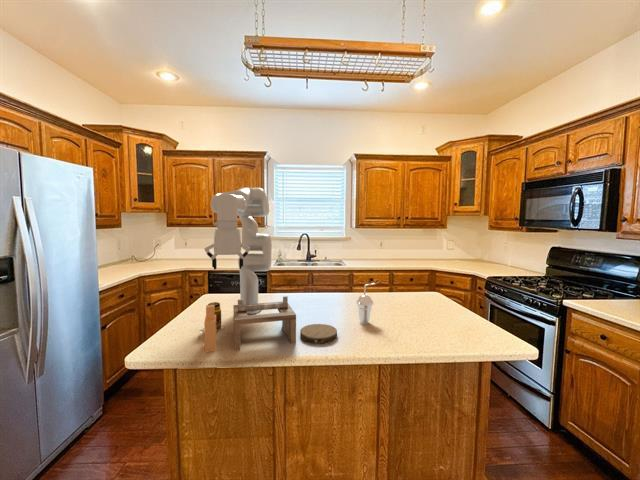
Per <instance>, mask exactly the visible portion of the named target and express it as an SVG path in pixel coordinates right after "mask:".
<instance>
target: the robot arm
mask: <svg viewBox="0 0 640 480" xmlns="http://www.w3.org/2000/svg"><path fill="white" fill-rule="evenodd" d="M210 208H211V210H212V211H213V212H214V213H215V214H217V218H216V219H217V221H216V222H213V227H216V229H215V230H214V236H213V243H212V244H209V246H206V247H205V248H204V251H205V253H206V255H207V256H208V257H209V258H210V259H211V268H213V270H217V268H218V267H217V266H218V265H217V256H226V255H227V256H228V255H229V256H234V255H238V260H237V263H238V270H239V281H240V283H239V284H240V285H239V289H240V290H239V291H240V293H239V295H240V296H239V297H240V298H239V299H242V300H243V305H244V304H257V303H259V278H258V276H257V274H256V273H255V272H268V271H270V270H271V268H272V245H273V244H272V237H271V236H270V235H269V234H267V233H259V225H258V222H257V221H256V220H255V219H254V218H255V217H259V218H262V217H263V218H264V217H267V216H268V215H269V212H270V206H269V201H268V196H267V194H266V191H265V190H264V189H263V188H261V187H241V188H239V189H237V190H232V191H226V192H224V191H223V192H218V193H216V194H214V195H213V196H212V197H211V199H210ZM253 217H254V218H253ZM238 218H239V221H240V222H241V223H240V224H241V231H240V228H238ZM211 249H213V253H211V251H210V250H211ZM242 250H244V253H242ZM249 252H262V253H249ZM260 312H262V310H257V311H247V315H256V314H258V313H260Z"/></svg>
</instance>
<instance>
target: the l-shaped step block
mask: <svg viewBox="0 0 640 480" xmlns="http://www.w3.org/2000/svg"><path fill="white" fill-rule="evenodd" d="M203 323H204V328H205V331H204V352H205V353H207V351H209V352H215V351H214V350H216V351H217V341H218V337H217V335H218V334H217V333H218V332H217V331H216V315H215V305H208V304H207V305H206V306H205V317H204V322H203Z"/></svg>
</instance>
